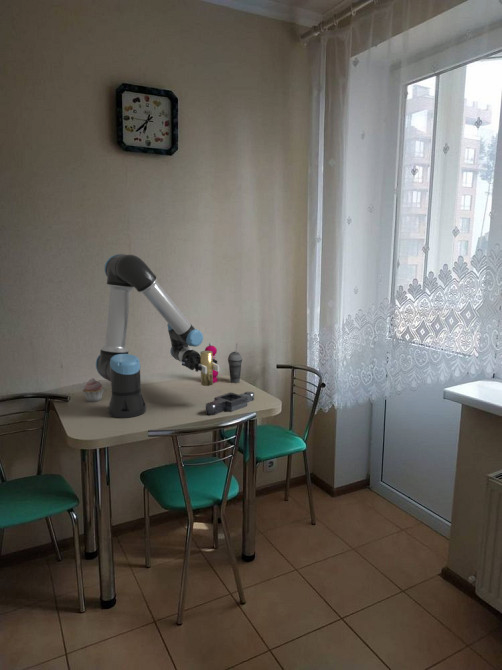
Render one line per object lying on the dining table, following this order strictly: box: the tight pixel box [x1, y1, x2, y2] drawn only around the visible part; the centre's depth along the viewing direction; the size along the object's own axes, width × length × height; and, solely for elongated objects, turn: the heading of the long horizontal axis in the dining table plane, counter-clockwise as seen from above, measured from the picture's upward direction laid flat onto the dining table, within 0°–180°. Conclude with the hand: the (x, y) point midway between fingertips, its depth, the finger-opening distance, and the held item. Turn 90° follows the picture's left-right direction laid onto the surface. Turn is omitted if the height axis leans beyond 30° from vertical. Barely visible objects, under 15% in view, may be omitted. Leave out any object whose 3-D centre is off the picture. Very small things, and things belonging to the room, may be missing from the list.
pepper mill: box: [204, 342, 219, 384], centre depth 245 cm, size 7×7×20 cm
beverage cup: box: [227, 342, 243, 384], centre depth 244 cm, size 7×7×20 cm
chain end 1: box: [205, 392, 248, 416], centre depth 205 cm, size 19×10×4 cm, turn 139°
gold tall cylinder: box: [200, 350, 214, 387], centre depth 206 cm, size 5×5×14 cm
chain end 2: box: [226, 391, 255, 412], centre depth 212 cm, size 19×10×3 cm, turn 139°
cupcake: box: [82, 377, 106, 403], centre depth 217 cm, size 9×9×10 cm
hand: (212, 369), depth 201 cm, fingers closed on gold tall cylinder, 5 cm apart
